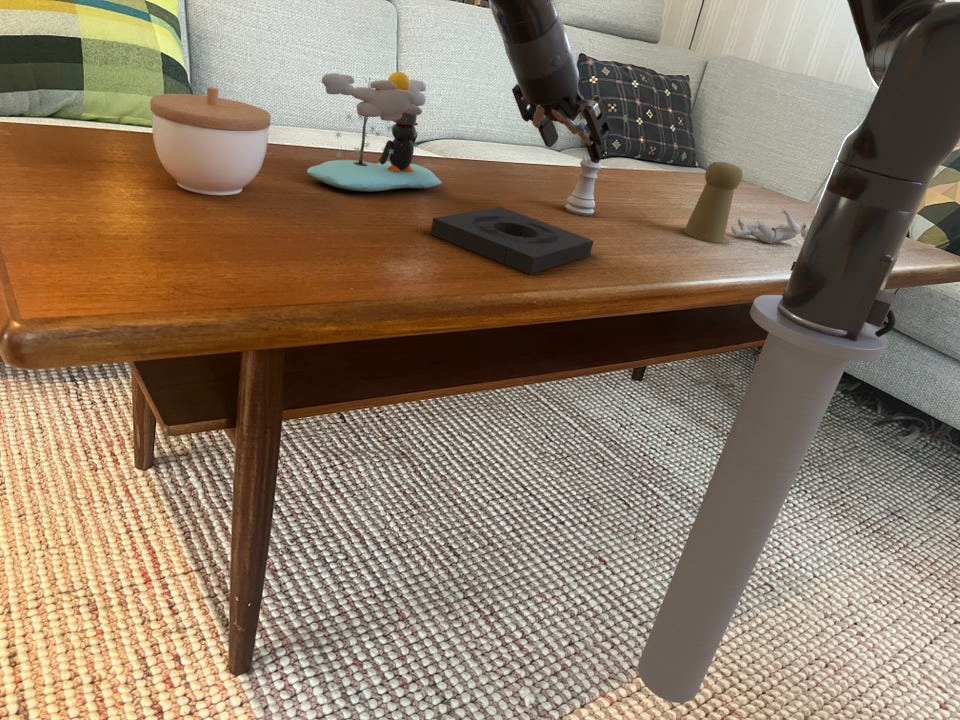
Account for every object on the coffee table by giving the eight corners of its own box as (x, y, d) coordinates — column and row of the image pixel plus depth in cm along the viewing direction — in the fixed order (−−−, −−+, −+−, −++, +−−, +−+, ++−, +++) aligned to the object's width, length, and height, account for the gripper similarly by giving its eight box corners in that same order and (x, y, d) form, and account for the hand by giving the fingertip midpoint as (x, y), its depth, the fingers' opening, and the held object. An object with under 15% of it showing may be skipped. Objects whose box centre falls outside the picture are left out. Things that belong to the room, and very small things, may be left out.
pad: (589, 256, 89) (594, 240, 88) (529, 275, 78) (533, 257, 77) (497, 221, 95) (500, 206, 95) (430, 234, 85) (432, 217, 84)
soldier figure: (722, 235, 118) (788, 220, 120) (732, 262, 116) (799, 247, 118) (742, 212, 110) (813, 196, 112) (754, 240, 109) (825, 224, 111)
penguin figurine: (408, 173, 111) (424, 68, 104) (455, 194, 104) (474, 83, 98) (292, 174, 97) (301, 53, 91) (336, 198, 91) (349, 70, 84)
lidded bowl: (205, 208, 78) (207, 101, 73) (126, 176, 82) (123, 74, 78) (288, 195, 88) (295, 100, 83) (214, 168, 93) (216, 77, 88)
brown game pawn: (682, 235, 108) (706, 161, 104) (685, 226, 114) (707, 156, 109) (723, 245, 107) (749, 171, 102) (723, 237, 112) (748, 165, 108)
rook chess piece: (584, 217, 106) (598, 163, 103) (558, 208, 109) (571, 154, 105) (598, 214, 110) (612, 161, 106) (573, 206, 112) (586, 153, 109)
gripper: (604, 44, 86) (631, 144, 99) (518, 25, 94) (553, 120, 107) (565, 88, 85) (598, 184, 97) (481, 65, 93) (522, 155, 106)
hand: (575, 150), depth 102 cm, fingers open, 8 cm apart
